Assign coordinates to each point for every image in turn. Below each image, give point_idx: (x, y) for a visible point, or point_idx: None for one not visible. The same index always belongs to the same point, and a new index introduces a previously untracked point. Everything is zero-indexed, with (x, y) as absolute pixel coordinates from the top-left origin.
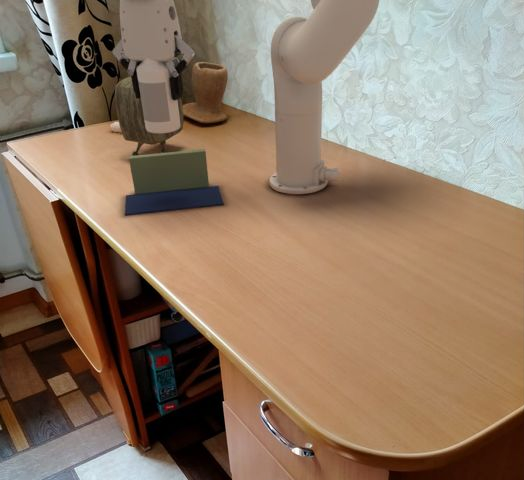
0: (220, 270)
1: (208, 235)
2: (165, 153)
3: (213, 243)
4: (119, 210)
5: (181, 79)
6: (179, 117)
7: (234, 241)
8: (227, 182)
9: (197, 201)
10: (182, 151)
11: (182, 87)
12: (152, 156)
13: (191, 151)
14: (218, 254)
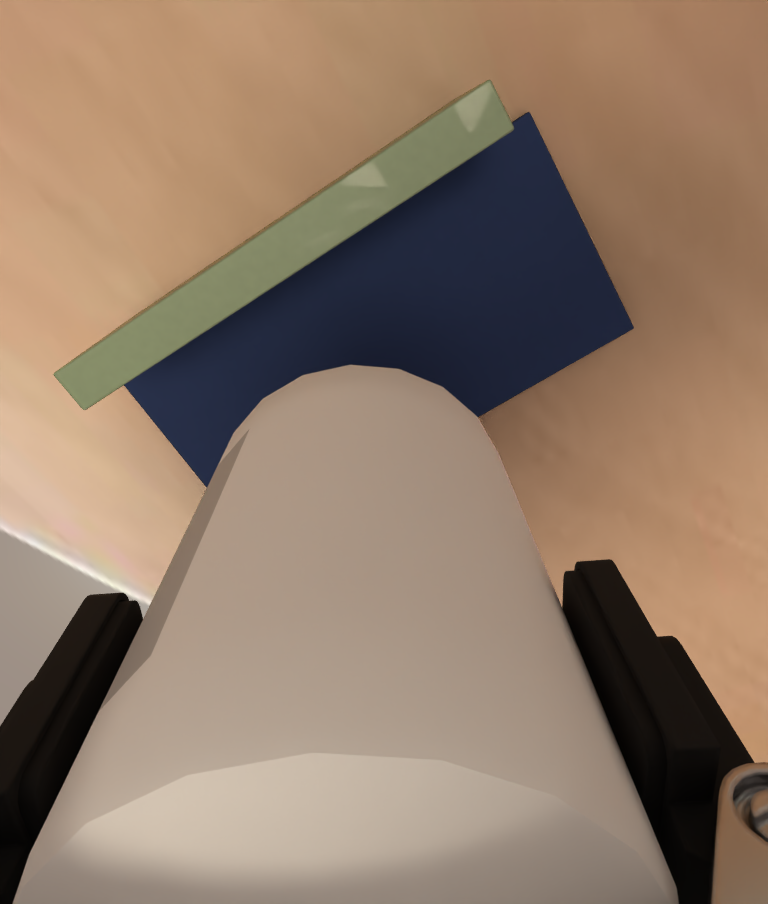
0: (761, 749)
1: (655, 586)
2: (256, 262)
3: (692, 628)
4: (195, 505)
5: (739, 753)
6: (511, 485)
7: (763, 597)
8: (552, 13)
9: (501, 345)
10: (351, 188)
11: (691, 671)
12: (201, 332)
13: (415, 168)
14: (730, 681)
